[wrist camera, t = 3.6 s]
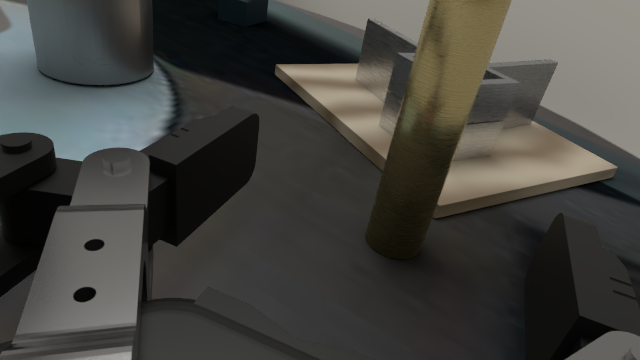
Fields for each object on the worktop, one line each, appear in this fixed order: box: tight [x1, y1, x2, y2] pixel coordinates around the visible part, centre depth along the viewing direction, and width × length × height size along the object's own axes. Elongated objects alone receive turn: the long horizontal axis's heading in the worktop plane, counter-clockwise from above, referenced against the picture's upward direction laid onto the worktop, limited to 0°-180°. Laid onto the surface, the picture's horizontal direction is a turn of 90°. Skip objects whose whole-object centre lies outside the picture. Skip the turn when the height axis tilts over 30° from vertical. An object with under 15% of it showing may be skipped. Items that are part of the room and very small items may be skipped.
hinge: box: [355, 19, 558, 161], centre depth 40 cm, size 16×16×6 cm
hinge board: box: [275, 64, 618, 219], centre depth 42 cm, size 25×20×1 cm
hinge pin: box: [366, 0, 511, 260], centre depth 22 cm, size 4×4×16 cm
